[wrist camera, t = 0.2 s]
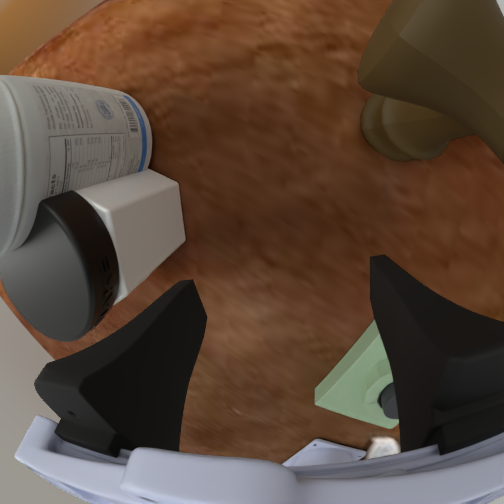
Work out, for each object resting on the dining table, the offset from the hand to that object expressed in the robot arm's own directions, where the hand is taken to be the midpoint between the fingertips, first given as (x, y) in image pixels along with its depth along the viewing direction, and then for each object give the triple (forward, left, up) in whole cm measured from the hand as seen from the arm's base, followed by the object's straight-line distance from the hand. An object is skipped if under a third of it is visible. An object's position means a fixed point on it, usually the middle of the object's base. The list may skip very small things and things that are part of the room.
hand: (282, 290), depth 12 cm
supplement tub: (-1, +16, -11) cm, 19 cm away
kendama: (+10, -3, -11) cm, 15 cm away
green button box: (-7, -15, -10) cm, 20 cm away
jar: (-5, +11, -11) cm, 16 cm away
